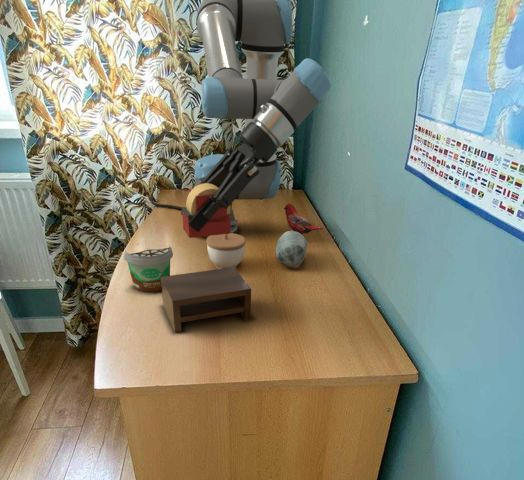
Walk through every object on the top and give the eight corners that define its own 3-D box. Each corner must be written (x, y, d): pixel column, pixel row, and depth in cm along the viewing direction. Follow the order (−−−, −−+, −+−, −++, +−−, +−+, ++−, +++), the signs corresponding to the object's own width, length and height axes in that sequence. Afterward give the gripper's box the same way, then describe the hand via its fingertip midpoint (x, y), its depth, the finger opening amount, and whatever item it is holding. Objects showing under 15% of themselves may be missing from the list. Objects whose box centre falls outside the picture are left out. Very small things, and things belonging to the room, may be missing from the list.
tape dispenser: (183, 229, 98) (180, 184, 92) (223, 225, 101) (223, 181, 95) (189, 238, 94) (186, 191, 88) (231, 233, 97) (231, 188, 91)
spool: (311, 263, 126) (298, 228, 123) (279, 275, 129) (266, 241, 126) (314, 255, 139) (303, 224, 136) (285, 266, 141) (273, 236, 139)
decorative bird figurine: (285, 230, 156) (287, 200, 150) (324, 246, 145) (328, 215, 139) (279, 232, 154) (281, 202, 148) (318, 248, 144) (321, 217, 138)
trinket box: (251, 262, 133) (251, 231, 128) (233, 276, 125) (234, 244, 119) (218, 254, 136) (218, 224, 131) (200, 268, 128) (198, 236, 123)
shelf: (163, 306, 110) (160, 276, 105) (233, 295, 116) (233, 266, 111) (175, 332, 101) (172, 300, 96) (250, 319, 107) (251, 288, 102)
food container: (134, 298, 113) (128, 260, 107) (127, 287, 117) (122, 251, 111) (181, 289, 118) (179, 253, 112) (174, 279, 122) (171, 243, 116)
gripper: (237, 112, 95) (166, 197, 99) (271, 128, 81) (187, 226, 86) (260, 139, 100) (191, 219, 104) (296, 158, 86) (214, 250, 90)
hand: (189, 222), depth 95 cm, fingers closed on tape dispenser, 5 cm apart
